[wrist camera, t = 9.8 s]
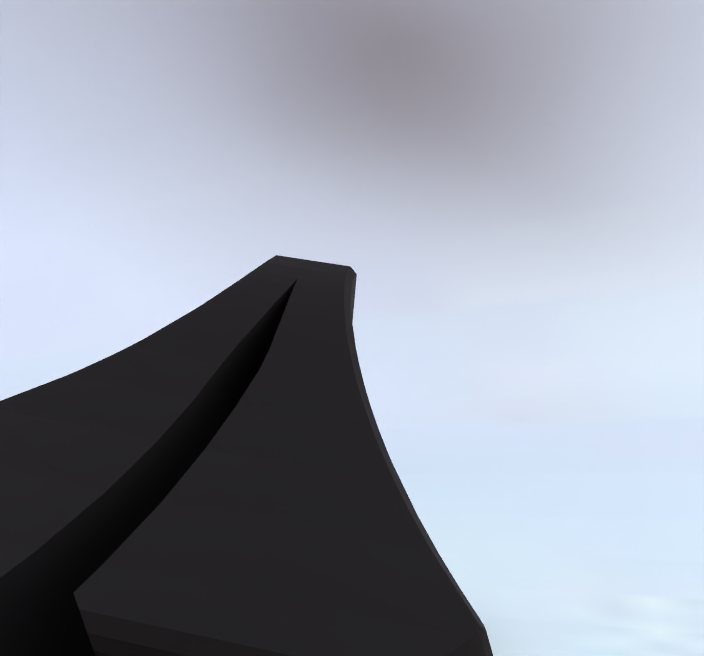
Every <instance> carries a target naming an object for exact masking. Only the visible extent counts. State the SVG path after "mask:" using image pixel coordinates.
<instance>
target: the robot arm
mask: <svg viewBox="0 0 704 656" xmlns="http://www.w3.org/2000/svg"><path fill="white" fill-rule="evenodd" d="M356 275H357V274H356V273H355V272H354V270H353V269H352V268H351V267H350V266H343V265H337V264H330V263H323V262H317V261H310V260H304V259H297V258H290V257H284V256H277V255H276V256H275V257H273V258H271V259H270V260H268V261H267V262H265V263H264V264H262V265H261V266H259V267H258V268H256V269H255V270H253V271H252V272H250V273H249V274H248V275H246V276H245V277H243V278H242V279H240V280H239V281H237V282H236V283H234V284H233V285H231V286H230V287H228V288H227V289H225V290H224V291H222V292H221V293H219V294H218V295H216V296H215V297H213V298H212V299H210V300H209V301H207V302H206V303H204V304H203V305H201V306H200V307H198V308H196V309H195V310H193V311H191V312H190V313H188V314H186V315H184V316H183V317H181V318H179V319H178V320H176V321H174V322H172V323H171V324H169V325H167V326H166V327H164V328H162V329H160V330H159V331H157V332H155V333H153V334H152V335H150V336H148V337H147V338H145V339H143V340H141V341H139V342H137V343H135V344H133V345H132V346H130V347H128V348H126V349H124V350H122V351H120V352H118V353H116V354H114V355H111V356H109V357H107V358H105V359H103V360H101V361H98V362H96V363H94V364H92V365H90V366H88V367H85V368H83V369H81V370H79V371H76V372H74V373H72V374H69V375H67V376H65V377H62V378H59V379H57V380H54V381H51V382H49V383H46V384H44V385H41V386H38V387H36V388H33V389H31V390H28V391H25V392H23V393H20V394H17V395H15V396H12V397H10V398H7V399H4V400H2V401H0V656H493V654H492V650H491V646H490V643H489V639H488V636H487V632H486V629H485V627H484V625H483V623H482V622H481V620H480V618H479V617H478V615H477V614H476V612H475V611H474V609H473V608H472V606H471V605H470V603H469V602H468V600H467V598H466V597H465V595H464V594H463V592H462V591H461V589H460V588H459V586H458V584H457V583H456V581H455V580H454V578H453V576H452V575H451V573H450V571H449V570H448V568H447V566H446V565H445V563H444V562H443V560H442V558H441V557H440V555H439V553H438V551H437V550H436V548H435V546H434V544H433V542H432V541H431V539H430V537H429V535H428V533H427V532H426V530H425V528H424V526H423V525H422V523H421V521H420V519H419V517H418V516H417V514H416V512H415V509H414V507H413V505H412V503H411V501H410V499H409V497H408V495H407V493H406V491H405V489H404V487H403V485H402V482H401V480H400V478H399V476H398V474H397V472H396V470H395V468H394V466H393V464H392V462H391V459H390V457H389V455H388V452H387V449H386V447H385V444H384V442H383V439H382V437H381V434H380V432H379V429H378V426H377V423H376V421H375V418H374V415H373V412H372V409H371V406H370V403H369V400H368V396H367V393H366V389H365V386H364V382H363V378H362V374H361V370H360V366H359V362H358V357H357V352H356V346H355V339H354V332H353V326H352V320H353V309H354V298H355V286H356Z"/></svg>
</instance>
